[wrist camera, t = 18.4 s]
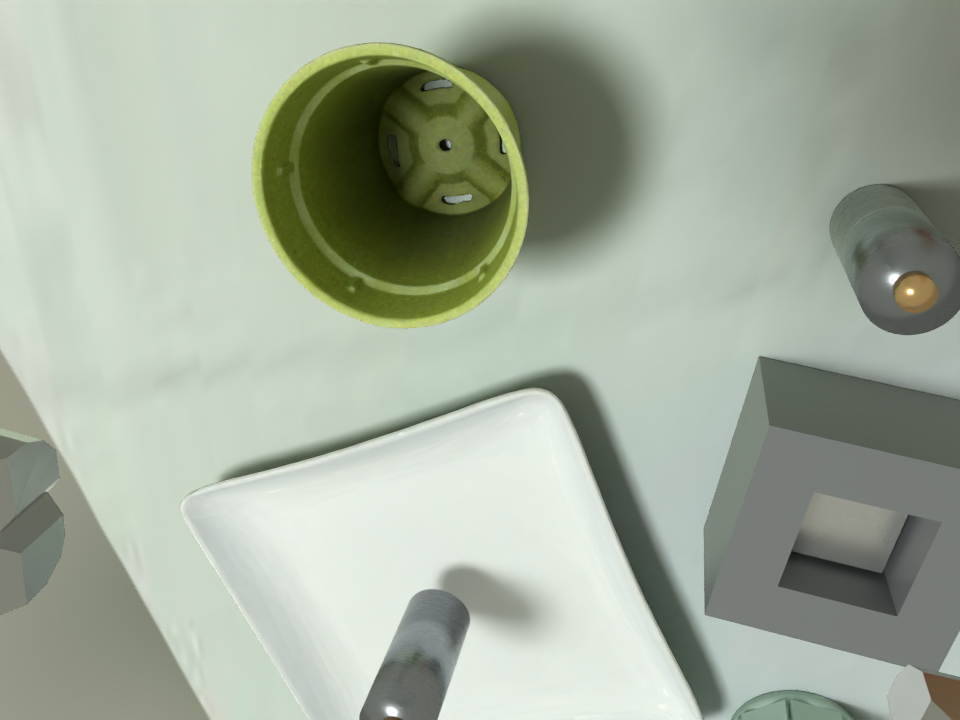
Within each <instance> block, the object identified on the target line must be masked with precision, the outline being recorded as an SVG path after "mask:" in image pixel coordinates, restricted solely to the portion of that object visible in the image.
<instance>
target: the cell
mask: <svg viewBox="0 0 960 720" xmlns="http://www.w3.org/2000/svg"><path fill="white" fill-rule="evenodd" d="M469 625H470V615H469V612H468V610H467V608H466V606H465V605H464V604H463V603H462V601H461V600H459V599H458V598H457V597H456V596H454V595H452V594H450V593H448V592H446V591H443V590H437V589H427V590H423V591H420V592H418V593H416V594H415V595H414V596H413V597H412V598H411V599H410V601H409V603H408V606H407V608H406V610H405V612H404V615H403V617H402V619H401V621H400V624H399V626H398V628H397V630H396V633H395V635H394V637H393V639H392V642H391V644H390V646H389V648H388V651H387V653H386V655H385V657H384V660H383V662H382V664H381V666H380V669H379V671H378V673H377V675H376V678H375V680H374V682H373V685H372V687H371V689H370V691H369V694H368V696H367V698H366V700H365V703H364V705H363V707H362V709H361V712H360V715H359V720H438V717H439V714H440V711H441V708H442V705H443V702H444V699H445V696H446V693H447V690H448V687H449V684H450V681H451V679H452V676H453V673H454V670H455V667H456V664H457V661H458V658H459V655H460V652H461V649H462V646H463V643H464V640H465V637H466V634H467V631H468V628H469Z"/></svg>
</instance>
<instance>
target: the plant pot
mask: <svg viewBox="0 0 960 720" xmlns="http://www.w3.org/2000/svg"><path fill="white" fill-rule="evenodd" d="M440 79H443V80H445V79H448V81H450V82H452V85H453V87H451V88H438V89H432V90H428V91H424V92H422V91H421V87H422V85H423V84H424V83H427V82H430V81H435V80H440ZM391 134H394V135H395V136H396V138H397V140H396V143H397V152H398V156H399V160H398V161H399V163H400V166H399V167H398V165H396V164H395V163H394V161H393V159H392V157H391V155H390V151H389V146H388V139H389V136H390V135H391ZM499 134H500V136H501V138H502V140H503V143H504V146H505V149H506V153H505V154H501V153H500V137H499ZM443 139H446V140H449V141H450V142H451V145H452V146H451V149H450V150H449V151H443V150H442V149H441V148H440V146H439V143H440V141H442V140H443ZM252 183H253V193H254V199H255V204H256V208H257V212H258V214H259V217H260V220H261V223H262V226H263V228H264V231H265V234H266V235H267V238H268V240H269V242H270V244H271V246H272V247H273V249H274V250H275V252H276V254H277V255H278V256H279V258H280V259H281V261H282V262H283V264H284V265H285V266H286V268H287V269H288V270H289V272H290V273H291V274H292V275H293V277H294V278H295V279H296V280H297V281H298V282H299V283H300V284H301V285H302V286H303V287H304V288H305V289H306V290H307V291H309V292H310V293H311V294H312V295H314V296H315V297H316V298H318V299H319V300H321V301H322V302H323V303H324V304H326V305H327V306H329V307H331V308H333V309H335V310H337V311H338V312H341V313H343V314H345V315H347V316H350V317H352V318H355V319H357V320H360V321H363V322H366V323H369V324H373V325H377V326H381V327H389V328H419V327H427V326H432V325H436V324H440V323H443V322H446V321H449V320H452V319H455V318H457V317H459V316H461V315H463V314H465V313H467V312H469V311H471V310H472V309H474V308H475V307H477V306H478V305H479V304H480V303H482V302H483V301H484V300H485V299H486V298H488V297H489V296H490V295H491V294H492V293H493V292H494V291H495V290H496V289H497V288H498V287H499V285H500V284H501V283H502V282H503V280H504V279H505V278H506V277H507V275H508V274H509V272H510V270H511V269H512V267H513V265H514V263H515V261H516V259H517V257H518V255H519V253H520V250H521V247H522V244H523V241H524V238H525V233H526V228H527V223H528V215H529V186H528V178H527V172H526V168H525V164H524V160H523V157H522V154H521V139H520V132H519V127H518V123H517V120H516V117H515V115H514V112H513V110H512V108H511V106H510V105H509V103H508V101H507V100H506V99H505V97H504V96H503V95H502V94H501V93H500V92H499V91H498V90H497V89H496V88H495V87H494V86H493V85H492V84H491V83H489V82H488V81H487V80H485V79H484V78H482V77H481V76H479V75H477V74H475V73H474V72H471V71H469V70H466V69H462V68H458V67H456V66H454V65H453V64H451V63H449V62H448V61H446V60H444V59H442V58H440V57H438V56H436V55H434V54H432V53H429V52H426V51H424V50H421V49H418V48H414V47H410V46H406V45H401V44H394V43H363V44H356V45H352V46H347V47H343V48H339V49H336V50H333V51H331V52H328V53H326V54H324V55H322V56H320V57H318V58H316V59H314V60H312V61H311V62H309V63H308V64H306V65H305V66H303V67H302V68H301V69H299V70H298V71H297V72H296V73H295V74H293V75H292V76H291V78H290V79H288V80H287V81H286V82H285V84H284V85H283V86H282V87H281V88H280V89H279V91H278V92H277V94H276V95H275V97H274V98H273V99H272V101H271V103H270V104H269V106H268V108H267V110H266V112H265V114H264V116H263V118H262V121H261V123H260V125H259V128H258V131H257V135H256V138H255V143H254V149H253V157H252ZM468 193H470V194H471V195H472V196H473V197H472V199H471V200H470V201H469V202H460V203H457V204H455V205H451V204H445V203H443V201H442V200H441V198H442V197H443V196H460V195H466V194H468Z"/></svg>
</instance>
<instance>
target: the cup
mask: <svg viewBox="0 0 960 720" xmlns="http://www.w3.org/2000/svg"><path fill="white" fill-rule="evenodd" d="M731 720H855V719H854V718H853V717H852V716H851V714H849V713H848V712H847V711H846V710H845V709H844V708H842V707H841V706H840V705H838V704H837V703H835V702H833V701H831V700H829V699H827V698H824V697H822V696H819V695H816V694H812V693H807V692H800V691H777V692H771V693H767V694H763V695H760V696H758V697H755V698H753V699H751V700H750V701H748V702H746V703H745V704H744V705H742V706H741V707H740V708H739V709H738V710H737V711H736V713H735V714H734V715H733V717H732V719H731Z"/></svg>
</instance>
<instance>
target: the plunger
mask: <svg viewBox="0 0 960 720" xmlns="http://www.w3.org/2000/svg"><path fill="white" fill-rule="evenodd" d="M907 516H908V514H904V513H900V512H896V511H892V510H887V509H883V508H879V507H875V506H870V505H866V504H862V503H858V502H854V501H849V500H845V499H841V498H837V497H833V496H828V495H824V494H820V493H816V492H814V493H813V496H812V499H811V501H810V504H809V506H808V509H807V512H806V514H805V517H804V519H803V522H802V525H801V527H800V530H799V532H798V535H797V538H796V540H795V543H794V545H793V548H792V551H793V552H798V553H802V554H806V555H810V556H814V557H818V558H822V559H826V560H830V561H834V562H838V563H842V564H846V565H850V566H854V567H858V568H862V569H866V570H870V571H874V572H879V573H882V572H883V569H884V567H885V565H886V563H887V561H888V558H889V556H890V554H891V552H892V550H893V547H894V545H895V543H896V541H897V538H898V536H899V534H900V532H901V530H902V527H903V525H904V523H905V521H906V518H907Z"/></svg>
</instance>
